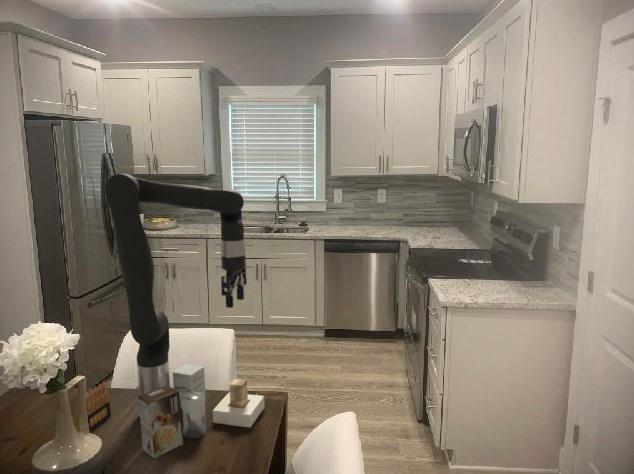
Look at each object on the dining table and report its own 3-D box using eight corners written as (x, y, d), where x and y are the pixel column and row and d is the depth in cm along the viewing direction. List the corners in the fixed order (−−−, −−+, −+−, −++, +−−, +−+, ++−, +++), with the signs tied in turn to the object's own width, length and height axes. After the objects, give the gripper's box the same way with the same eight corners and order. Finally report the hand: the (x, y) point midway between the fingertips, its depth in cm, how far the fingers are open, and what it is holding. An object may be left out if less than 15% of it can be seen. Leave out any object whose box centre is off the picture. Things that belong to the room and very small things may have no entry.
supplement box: (173, 408, 160) (171, 371, 158) (187, 398, 167) (185, 362, 165) (193, 413, 157) (190, 375, 155) (206, 402, 164) (204, 365, 162)
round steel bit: (179, 436, 144) (177, 401, 142) (190, 425, 150) (188, 390, 148) (199, 439, 142) (197, 403, 141) (209, 427, 149) (208, 393, 147)
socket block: (213, 422, 151) (212, 410, 151) (229, 403, 163) (229, 392, 162) (250, 427, 148) (250, 415, 148) (264, 407, 160) (264, 396, 159)
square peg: (230, 417, 154) (229, 384, 152) (236, 411, 158) (235, 378, 156) (242, 419, 153) (241, 385, 151) (248, 412, 157) (246, 379, 155)
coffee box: (171, 436, 144) (168, 384, 142) (183, 444, 140) (180, 391, 137) (141, 449, 138) (137, 395, 135) (153, 459, 133) (149, 403, 131)
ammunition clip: (86, 434, 146) (83, 396, 144) (81, 433, 146) (77, 395, 144) (111, 416, 156) (108, 380, 154) (106, 415, 156) (103, 379, 154)
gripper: (231, 249, 165) (233, 296, 167) (212, 257, 151) (214, 309, 154) (252, 249, 163) (254, 297, 165) (235, 258, 149) (237, 311, 152)
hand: (235, 303), depth 160 cm, fingers open, 8 cm apart
